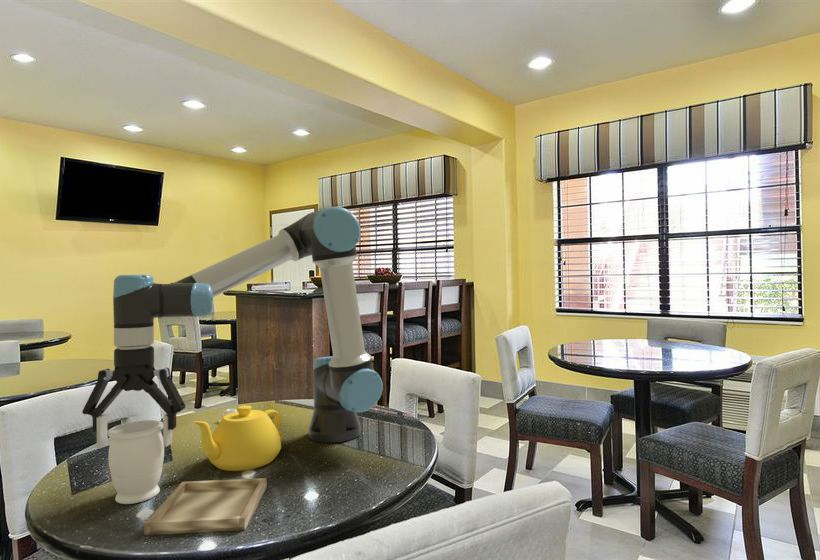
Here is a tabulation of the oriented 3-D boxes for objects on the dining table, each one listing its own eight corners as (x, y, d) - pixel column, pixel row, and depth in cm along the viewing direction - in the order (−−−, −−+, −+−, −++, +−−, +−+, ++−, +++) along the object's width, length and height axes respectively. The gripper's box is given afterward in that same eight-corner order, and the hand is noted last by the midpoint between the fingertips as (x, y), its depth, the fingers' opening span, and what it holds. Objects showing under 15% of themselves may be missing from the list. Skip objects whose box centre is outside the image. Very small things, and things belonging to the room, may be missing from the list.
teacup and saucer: (251, 419, 163) (251, 406, 163) (238, 426, 155) (237, 413, 155) (228, 417, 165) (227, 405, 165) (213, 425, 157) (213, 412, 157)
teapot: (214, 487, 110) (213, 426, 110) (175, 469, 121) (174, 413, 121) (303, 453, 129) (302, 402, 129) (262, 440, 140) (261, 393, 140)
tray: (266, 487, 109) (266, 478, 109) (244, 530, 91) (244, 518, 91) (182, 491, 108) (182, 481, 108) (143, 535, 90) (143, 523, 90)
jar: (140, 509, 100) (139, 435, 100) (97, 505, 102) (95, 433, 102) (175, 487, 110) (174, 420, 110) (135, 483, 112) (134, 418, 112)
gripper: (200, 343, 110) (201, 438, 110) (84, 345, 109) (85, 441, 109) (187, 348, 103) (188, 449, 103) (62, 350, 101) (63, 453, 101)
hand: (135, 445), depth 106 cm, fingers open, 13 cm apart
